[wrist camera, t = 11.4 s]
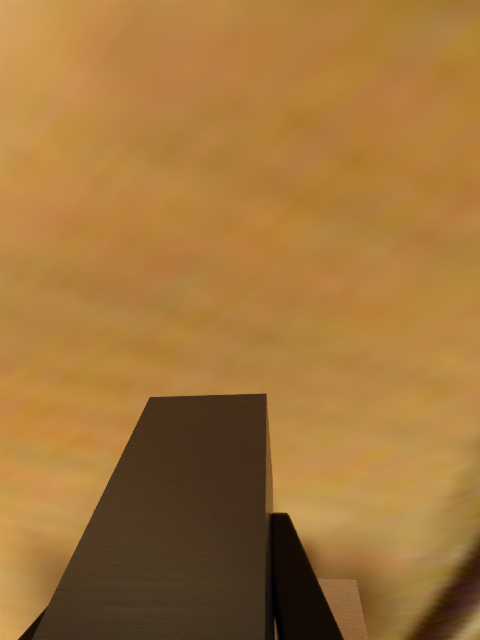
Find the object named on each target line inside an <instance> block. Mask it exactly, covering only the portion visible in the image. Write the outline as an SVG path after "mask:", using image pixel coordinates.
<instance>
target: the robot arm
mask: <svg viewBox="0 0 480 640" xmlns="http://www.w3.org/2000/svg"><path fill="white" fill-rule="evenodd" d="M271 578H272V590H273V601H274V613H275V626H276V636H277V640H344V638H343V636H342V634H341V631H340V629H339V627H338V624H337V622H336V620H335V618H334V615H333V613H332V611H331V609H330V606H329V604H328V602H327V600H326V597H325V595H324V593H323V591H322V588H321V586H320V584H319V582H318V579H317V577H316V575H315V573H314V570H313V568H312V566H311V564H310V561H309V559H308V557H307V555H306V552H305V550H304V548H303V546H302V543H301V541H300V539H299V537H298V534H297V532H296V530H295V528H294V525H293V523H292V521H291V518H290V516H289V515H288V514H287V513H272V514H271ZM47 607H48V606H47ZM47 607H46V608H45V610H44V611H43V612H42V613H41V614H40V615H39V616H38V618H37V619H36V620H35V621H34V622H33V623H32V624H31V626H30V627H29V628H28V629H27V630H26V631H25V632H24V634H23V635H22V636H21V637H20V638H19V639H18V640H32V638H33V636H34V634H35V632H36V630H37V628H38V626H39V624H40V622H41V620H42V617H43V615H44V613H45V611H46V609H47Z"/></svg>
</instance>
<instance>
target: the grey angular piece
mask: <svg viewBox="0 0 480 640" xmlns="http://www.w3.org/2000/svg"><path fill="white" fill-rule="evenodd" d="M272 513H273V479H272V465H271V451H270V437H269V422H268V408H267V394H240V395H208V396H175V397H150V398H149V400H148V402H147V404H146V406H145V408H144V410H143V412H142V414H141V417H140V419H139V421H138V423H137V425H136V427H135V429H134V431H133V433H132V435H131V437H130V439H129V441H128V443H127V445H126V447H125V449H124V451H123V453H122V455H121V458H120V460H119V462H118V464H117V466H116V468H115V470H114V472H113V474H112V476H111V478H110V480H109V482H108V484H107V486H106V488H105V490H104V492H103V494H102V496H101V499H100V501H99V503H98V505H97V507H96V509H95V511H94V513H93V515H92V517H91V519H90V521H89V523H88V525H87V527H86V529H85V531H84V533H83V535H82V538H81V540H80V542H79V544H78V546H77V548H76V550H75V552H74V554H73V556H72V558H71V560H70V562H69V564H68V566H67V568H66V570H65V572H64V574H63V576H62V579H61V581H60V583H59V585H58V587H57V589H56V591H55V593H54V595H53V597H52V599H51V601H50V603H49V605H48V607H47V609H46V611H45V613H44V615H43V617H42V620H41V622H40V624H39V626H38V628H37V630H36V632H35V634H34V636H33V638H32V640H277V636H276V626H275V613H274V601H273V590H272V578H271V514H272ZM318 582H319V584H320V586H321V588H322V591H323V593H324V595H325V597H326V600H327V602H328V604H329V606H330V609H331V611H332V613H333V615H334V618H335V620H336V622H337V624H338V627H339V629H340V631H341V634H342V636H343V638H344V640H369V639H368V634H367V629H366V624H365V620H364V615H363V610H362V605H361V600H360V596H359V591H358V586H357V581H356V579H318Z"/></svg>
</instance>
